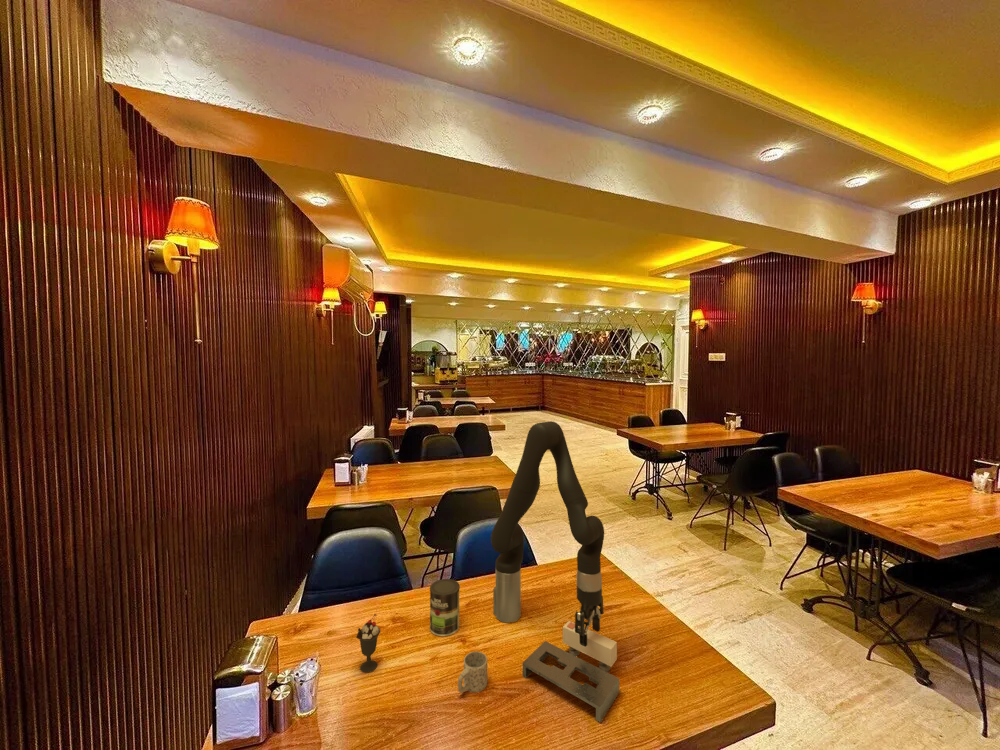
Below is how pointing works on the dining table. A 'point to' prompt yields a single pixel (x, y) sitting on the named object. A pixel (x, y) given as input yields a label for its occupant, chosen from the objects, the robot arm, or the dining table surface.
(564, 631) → the cream rectangular block
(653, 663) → the dining table surface
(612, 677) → the slotted board
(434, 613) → the coffee can
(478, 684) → the mug
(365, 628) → the sundae
